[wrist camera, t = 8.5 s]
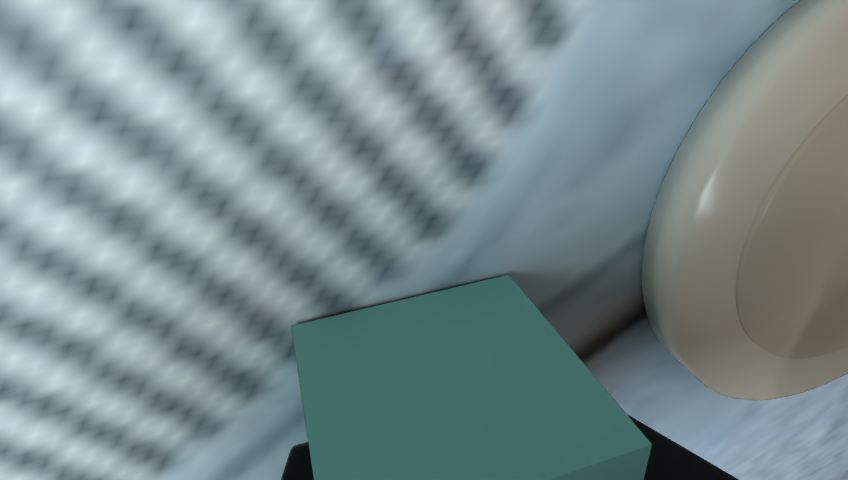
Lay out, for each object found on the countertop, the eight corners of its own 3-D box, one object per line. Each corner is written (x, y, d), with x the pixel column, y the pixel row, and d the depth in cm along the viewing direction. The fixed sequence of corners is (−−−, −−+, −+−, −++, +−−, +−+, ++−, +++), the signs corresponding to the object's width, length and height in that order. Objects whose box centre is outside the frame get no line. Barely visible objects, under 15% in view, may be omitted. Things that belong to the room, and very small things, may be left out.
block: (509, 274, 10) (652, 444, 6) (504, 423, 12) (612, 610, 8) (290, 325, 9) (325, 555, 5) (327, 477, 11) (368, 714, 7)
